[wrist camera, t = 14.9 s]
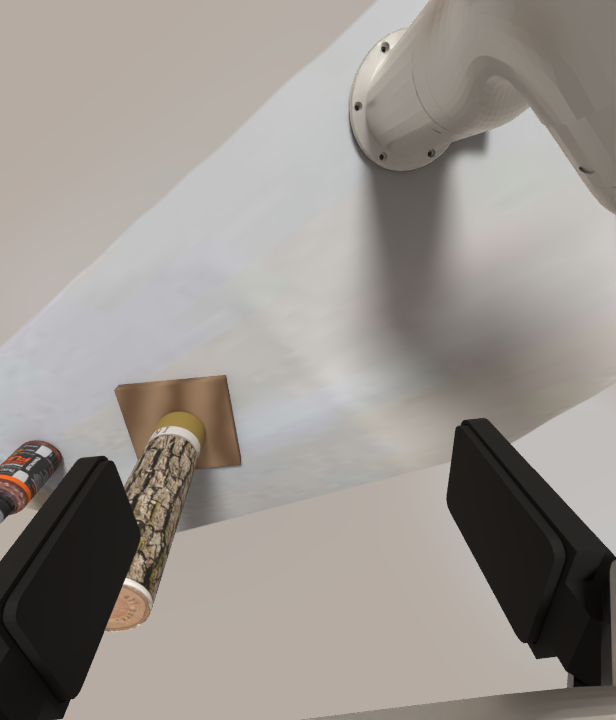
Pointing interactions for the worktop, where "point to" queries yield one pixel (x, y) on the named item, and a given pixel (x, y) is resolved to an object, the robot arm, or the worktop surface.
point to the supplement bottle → (25, 475)
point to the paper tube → (156, 511)
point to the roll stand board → (183, 395)
